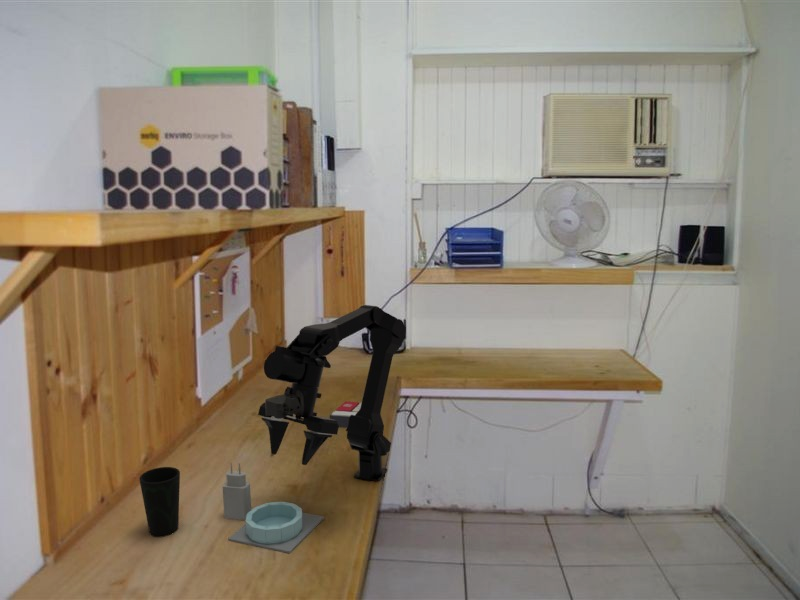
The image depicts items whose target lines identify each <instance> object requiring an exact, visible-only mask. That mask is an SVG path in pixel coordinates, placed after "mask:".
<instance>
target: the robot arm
mask: <svg viewBox="0 0 800 600" xmlns="http://www.w3.org/2000/svg"><path fill="white" fill-rule="evenodd" d="M363 329H366V330H368V331H369V342H370V345H371V348H372V354H371V360H370V364H369V369H368V372H367V376H366V377H367V378H366V382H365V387H364V390H363V391H364V392H363V395H362V399H361V402H362V403H361V402H360V403H361V408H360V410H359V411H358V412H357V413H356V414H355V415H351V416H350V417H349V423H348V427H347V428H346V430H345V431H346V440H347V441H348V443H349V446H350V450H352V451H353V450H354V451H357V452H358V470H357V472H355V473H354V474H353V478H355V479H361V480H367V481H374V482H379V481H380V480H381V479H382V478H383V477H384V476H385V474H387V472H388V468H386V467H385V468H384V467H383V457H385V456H387V454H388V453H389V452H390V450H391V446H392V442H390V440H388V438H387V437H386V436H385V435H384V430H385V424H384V421H383V418H382V415H381V411H382V406H383V402H384V399H385V393H386V390H387V389H386V388H387V385H388V384H387V383H388V379H389V375H390V370H391V366H392V361H393V357H394V355H395V354H396V353H397V352H398V350H399V349H400V348H401V347H402V346H403V342H404V340H405V336H406V334H407V327H406V325H405V322H404V321H403V320H402V319H401V318H397V317H395V316H394V315H392V314H390V313H388V312H386V311H384V310H383V309H382V308H381V307H379V306H377V305H368V304H363V305H360V306H359V308H357V309H355V310H353V311H351V312H349V313H346V314H345V315H342V316H340V317H338V318H336V319H334V320H332V321H330V322H324V323H315V324H310V325H307V326H304V327H302V328H301V329H300V330H299V332H298V334H297V336H296V337H295V338H294V339H293V340H292V341H291V342H290V343H289V345H287V347H286V346H281V345H275V348H274V351H273V352H271V353H269V355H268V356H267V357H266V359H265V360H264V363H263V370H264V371H263V372H264V374H265V376H266V377H267V378H268V379H270V380H275V381H279V382H285V383H291V386H286V388H285V390H284V394H279V395H275V396H272V397H268V398H266V399H265V402H263V403H262V404H261V405H260V406H259V409H258V412H257V413H258V414H257V415H258V416H260V417H261V421H263V422H264V423H265V425H266V426H267V428H268V429H267V430H268V432H269V442H270V453H271V454H272V455H277V453H278V451H279V449H280V447H281V444H282V443H283V442H282V441H283V438H284V436H285V434H286V432H287V429H288V427H289V424H290V422H289V421H291V422H295V423H297V424H301V425H304V426H305V427H306V429H307V430H303V433H304V436H305V443H304V449H303V452H302V459H301V465H302V466H307V465H308V463H309V462H310V461H311V460H312V458H313V457H314V455H315V454H316V453H317V452H318V450H319V449H320V447H322V445H324V443H325V442H326V441H327V440H328V438H332V437H333V435H338V432H339V428H340V427H339V425H338V422H337V421H336V420H333V419H330V417H326V416H325V417H324V416H317V415H318V412H315V408H316V407H315V405H316V402H317V399H322V398H321V397H322V393H321V392H319V389H320V386H321V385H320V383H321V379H322V375H323V370H324V368H327V369H331V368H332V367H331V363H330V362H329V361H328V359H327V356H328V355H330V354H332V353H333V351H335V350H336V349H337V348H338V347H339V346H340V343H341V341H343V340H345V339H346V338H349V337H350V336H351V335H354V334H355V333H357V332H358V333H359V332H360V331H361V330H363ZM286 420H288V421H286Z"/></svg>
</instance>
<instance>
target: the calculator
mask: <svg viewBox="0 0 800 600" xmlns="http://www.w3.org/2000/svg"><path fill="white" fill-rule="evenodd" d="M361 403H362V401H361V402H359V401H347V400H345V401H344V402H342V403H341V404H340V406H338V407H337V408H336V409H335V410H334V411H333V412H332V413H331V414H329V419H333V420H336V421H337V422H338V425H339V428H346V429H347V427H348V423H349V417H350V416H351V415H355V414H356V413H357V412H358V411H359V410H360V408H361Z"/></svg>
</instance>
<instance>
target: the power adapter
mask: <svg viewBox="0 0 800 600" xmlns="http://www.w3.org/2000/svg"><path fill="white" fill-rule="evenodd" d="M246 476H247V475H246V472H244V471H241V463H240V462H238V471H237V470H233V462H230V471H228V472H225V477H226V481H225V482H224V483H223V484H222V485H221V486H222V498H223V499H222V502H223V503H222V505H223V518H224V519H226V518H229V519H228V520H236V519H238V520H237V521H246V516H247V513H249V512H250V511H251V510H252V496H251V494H252V493H251V482H250V481H247V477H246Z"/></svg>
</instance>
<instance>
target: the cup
mask: <svg viewBox="0 0 800 600" xmlns="http://www.w3.org/2000/svg"><path fill="white" fill-rule="evenodd" d="M180 478H181V472H180V470H179V469H178V468H176V467H174V466H161V467H156V468H153V469H149V470H147V471H145V472H143V473H142V474H141V475H140V476H139V485H140V490H141V495H142V500H143V506H144V511H145V516H146V521H147V526H148V532H149V533H148V534H149V535H150V536H152V537H154V538H162V537H168V536H170V535H172V533H173V534H174V533H176V532H177V531H178V530H179V519H180V518H179V517H180V516H179V515H180V483H181V479H180Z"/></svg>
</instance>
